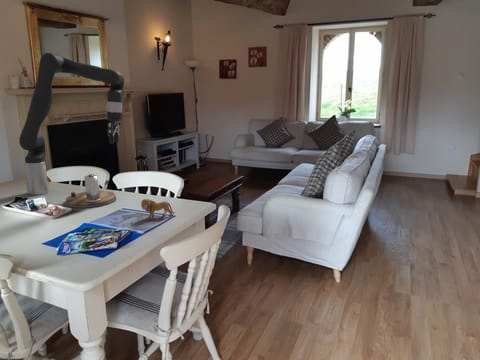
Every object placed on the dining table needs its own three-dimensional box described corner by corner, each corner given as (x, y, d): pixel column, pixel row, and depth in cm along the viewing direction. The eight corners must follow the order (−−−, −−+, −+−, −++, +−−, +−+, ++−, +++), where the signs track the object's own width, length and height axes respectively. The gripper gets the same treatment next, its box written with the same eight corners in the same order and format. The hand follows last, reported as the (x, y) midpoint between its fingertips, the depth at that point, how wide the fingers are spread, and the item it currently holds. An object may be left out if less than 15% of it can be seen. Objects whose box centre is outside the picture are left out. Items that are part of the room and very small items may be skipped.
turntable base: (55, 207, 175) (55, 205, 175) (79, 194, 198) (79, 192, 198) (104, 208, 174) (104, 206, 173) (123, 194, 197) (123, 193, 197)
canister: (83, 202, 176) (80, 176, 173) (89, 198, 183) (87, 173, 180) (97, 202, 176) (94, 176, 173) (103, 198, 183) (100, 173, 179)
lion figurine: (143, 221, 157) (142, 201, 155) (140, 217, 162) (139, 197, 160) (176, 215, 164) (175, 196, 162) (172, 212, 169) (171, 193, 167)
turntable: (56, 205, 175) (56, 199, 174) (79, 192, 198) (79, 186, 197) (103, 206, 174) (103, 199, 173) (121, 193, 196) (121, 187, 196)
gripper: (111, 110, 194) (110, 141, 197) (102, 110, 180) (101, 143, 183) (125, 111, 194) (125, 142, 197) (117, 111, 180) (116, 144, 183)
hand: (113, 143), depth 190 cm, fingers open, 8 cm apart
